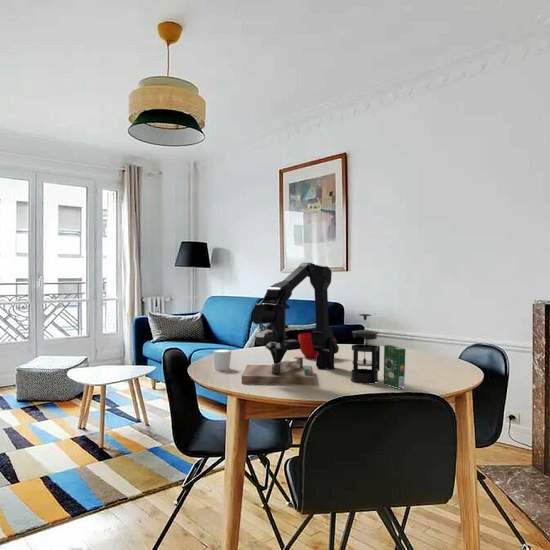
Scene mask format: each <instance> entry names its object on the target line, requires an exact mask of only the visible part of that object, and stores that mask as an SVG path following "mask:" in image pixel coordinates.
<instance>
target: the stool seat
mask: <svg viewBox="0 0 550 550" xmlns="http://www.w3.org/2000/svg"><path fill="white" fill-rule="evenodd" d="M241 384H246V385H247V384H249V385H252V384H253V385H258V384H259V385H290V386H292V385H295V386H297V385H298V386H300V385H301V386H315V374H314V370H313V367H312V365H308V364H307V365H304V364H303V367H300V368H297V369H294V370H290V371H287V372H284V373H281V374H272V364H247V365H246V366H245V368H244V371H243V373H242V375H241Z"/></svg>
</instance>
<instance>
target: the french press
mask: <svg viewBox="0 0 550 550" xmlns="http://www.w3.org/2000/svg"><path fill="white" fill-rule="evenodd" d="M359 316H361V317H363V320H364V329H359V330H352V331H351V333H352V337H353V338H358V337H360V338H363V339H364V343H362V344H360V343H359V344H358V343H357V344H352V345H351V350H352V352H353V355H352V357H353V360H352V361H351V362H352V369H351V370H350V372H351V373H350V375H351V376H350V377H351V378H350V381H351V382H352V383H355V384H360V383H361V384H362V383H363V384H362V385H370V384H369V383H374V384H376V383H375V382H378V383H379V379H378V378H379V377H378V375H379V372H380V368H381V367H380V363H381V358H380V357H381V355H380V354H381V352H380V351H381V350H380V349H381V345H375V344H366V341H367V340H369V341H370V340H377V339H378V334H379V332H378V331H374V330H371V329H370V330H368V329H366V325H367V324H366V322H367V318H368V317H371V316H372V314H367V313H361V314H360V313H359ZM359 353H363V359H359ZM366 353H371V360H367V359H366ZM359 366H360V367H371V368H359Z"/></svg>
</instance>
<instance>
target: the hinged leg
mask: <svg viewBox="0 0 550 550" xmlns="http://www.w3.org/2000/svg"><path fill="white" fill-rule="evenodd" d="M303 360H304V358H303V357H301V356H296V357H293V358H291V359H287V360H284V361H281V362H279V363H276V364H274V363H273V364H271V365H272V374H281V373H284V372H287V371H290V370H294V369H297V368H300V367H303V366H304V364H303V362H304V361H303Z"/></svg>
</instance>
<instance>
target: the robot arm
mask: <svg viewBox="0 0 550 550" xmlns="http://www.w3.org/2000/svg"><path fill="white" fill-rule="evenodd" d="M332 274H333V272H332V269H330V267H329V266H327V265H326V266H325V265H323V266H322V265H318V264H315V263H313V262H302V263H300V264H299V265H298V266H297V267H296V268H295V269H294V270H293V271H292V272H291V273H290V274H289V275H288V276H286V277H285V278H284V279H283V280H282V281H279V282H276V283H274V284H272V285H270V286H269V287H268V288H267V289H266V293H265V294H264V296H263V299H262V301H261V302H260V303H255V307H254V308H253V309H252V310H251V313H250V318H251V321H252V322H253V324H255V325H264V324H266V326H265V330H262V331H260V332H258V333H256V334H255V335H254V338H255V341H254V342H255V344H256V345H261V346H263V347H264V348H266V349H267V350H269V352H270V354H271V357H272V361H273V364H276V363H279V362H282V360H283V358H284V356H285V355H286V353H287V351H293V350H294V351H295V350H300V342H299V340H298V339H297V340H296V339H289V337H288V336H286V335H287V334H286V333H287V332H286V331H287V330H286V329H288V328H289V325H288V324H287V323H286V320H287V319H286V318H287V310H289V309H290V308H291V306H290V305H288V303H287V302H288V300H289V299H290V298H291V296H292V294H293V291H294V290H295V288H296V287H297V286H299V285H300V283H302V282H303V281H304V280H305V279H306V278H309V282H310V285H311V287H313V288H312V289H314V290H313V291H314V308H315V309H314V310H315V327H314V329H313V330H311V332H310V333H311V342H312V345H313V349H314V351H317V352H318V355H316V358H315V367H316V368H317V369H318V370H335V354H338V353H339V349H340V348H339V345H338V343H337V341H336V342H335V340H334V338H335V336H334V332H333V331H332V329H331V327H330V322H329V297H328V295H329V293H328V289H329V286H331V283H332ZM286 309H287V310H286Z"/></svg>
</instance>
